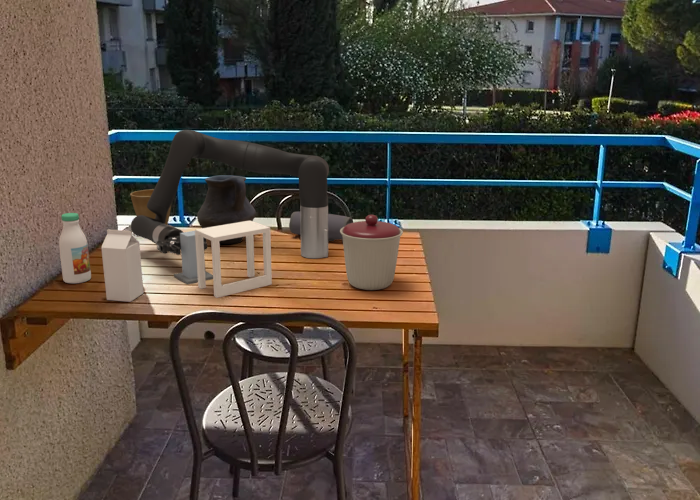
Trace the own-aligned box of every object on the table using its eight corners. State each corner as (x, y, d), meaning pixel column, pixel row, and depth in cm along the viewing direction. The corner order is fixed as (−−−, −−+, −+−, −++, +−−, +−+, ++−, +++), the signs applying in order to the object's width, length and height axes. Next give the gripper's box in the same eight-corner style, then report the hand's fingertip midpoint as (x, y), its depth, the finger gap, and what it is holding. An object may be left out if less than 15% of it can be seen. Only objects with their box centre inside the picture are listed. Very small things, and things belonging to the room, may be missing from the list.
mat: (173, 276, 191) (173, 274, 191) (200, 271, 197) (200, 268, 197) (187, 284, 185) (187, 281, 184) (214, 278, 190) (214, 275, 190)
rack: (198, 287, 182) (194, 229, 178) (251, 275, 194) (250, 220, 189) (216, 297, 174) (213, 237, 170) (271, 284, 186) (270, 227, 181)
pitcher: (236, 231, 244) (234, 167, 238) (269, 242, 229) (267, 174, 222) (188, 240, 231) (184, 172, 224) (220, 253, 216) (216, 181, 209)
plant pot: (181, 230, 245) (178, 189, 241) (164, 240, 231) (160, 197, 227) (145, 228, 248) (142, 187, 243) (126, 237, 234) (122, 195, 229)
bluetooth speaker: (288, 239, 235) (288, 212, 232) (300, 233, 243) (299, 207, 240) (344, 246, 226) (344, 219, 223) (354, 240, 234) (354, 213, 231)
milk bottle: (64, 285, 183) (56, 218, 177) (62, 277, 189) (54, 212, 184) (92, 281, 186) (85, 215, 181) (89, 274, 193) (82, 210, 187)
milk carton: (130, 302, 170) (124, 234, 165) (106, 300, 172) (99, 232, 166) (143, 293, 177) (138, 227, 172) (120, 291, 178) (114, 226, 173)
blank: (182, 274, 191) (179, 233, 187) (197, 271, 194) (195, 230, 190) (190, 278, 187) (187, 236, 184) (205, 275, 190) (203, 233, 187)
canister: (404, 277, 193) (407, 210, 187) (396, 297, 176) (398, 224, 170) (346, 273, 196) (347, 206, 191) (333, 292, 179) (333, 220, 174)
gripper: (146, 229, 194) (169, 240, 182) (189, 223, 203) (213, 233, 191) (148, 253, 196) (171, 265, 185) (190, 245, 205) (214, 256, 193)
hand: (192, 249), depth 188 cm, fingers open, 8 cm apart
